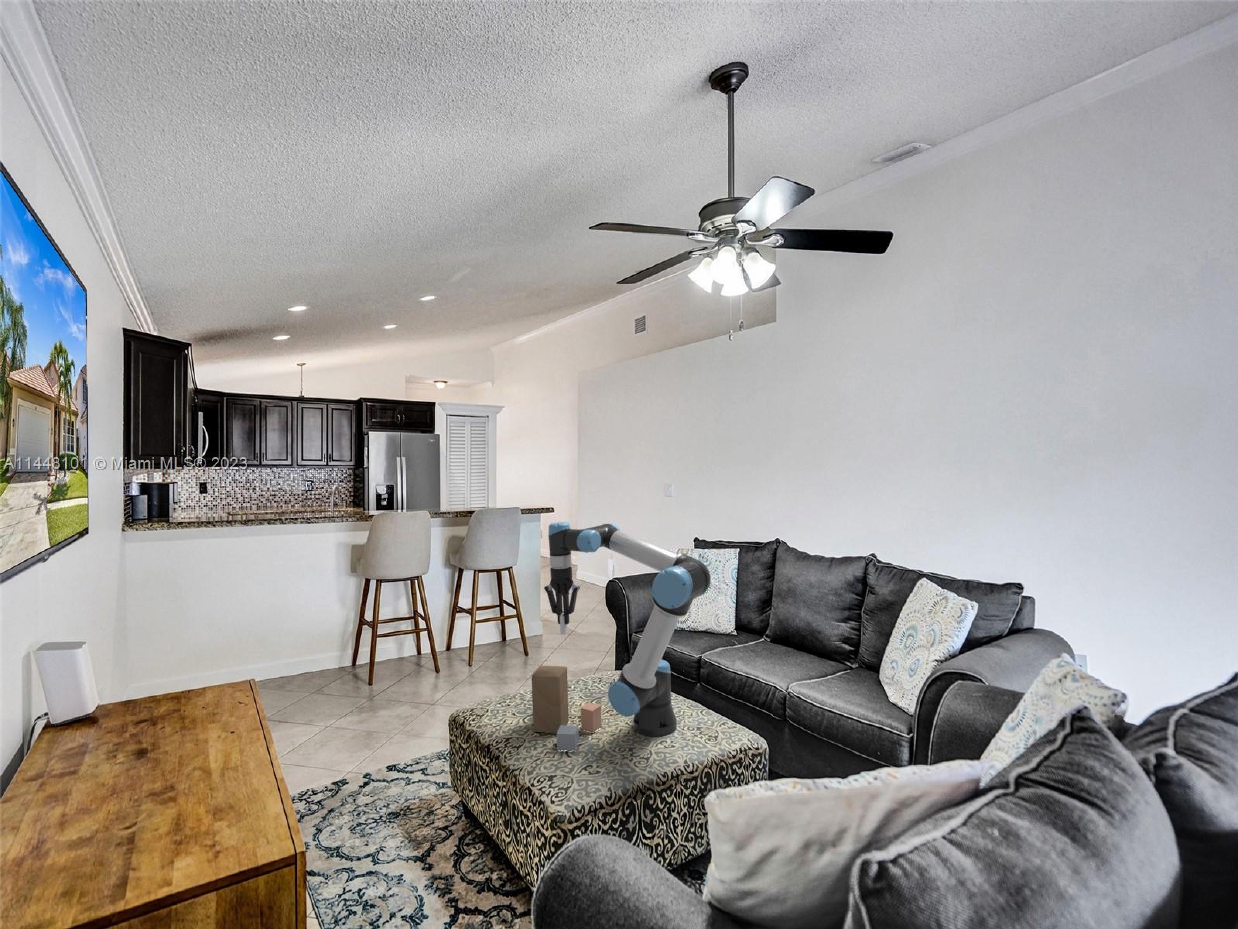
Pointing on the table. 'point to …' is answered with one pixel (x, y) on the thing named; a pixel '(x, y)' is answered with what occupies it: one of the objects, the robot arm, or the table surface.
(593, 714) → the terracotta block
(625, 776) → the table surface
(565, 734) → the slate cube
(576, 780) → the table surface
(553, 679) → the wooden block
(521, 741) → the table surface
